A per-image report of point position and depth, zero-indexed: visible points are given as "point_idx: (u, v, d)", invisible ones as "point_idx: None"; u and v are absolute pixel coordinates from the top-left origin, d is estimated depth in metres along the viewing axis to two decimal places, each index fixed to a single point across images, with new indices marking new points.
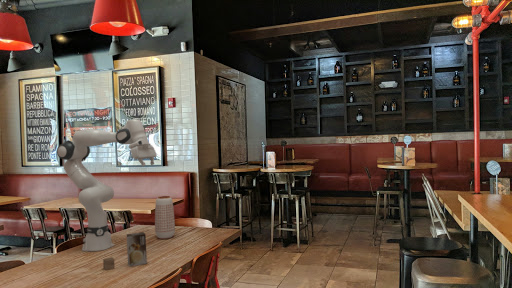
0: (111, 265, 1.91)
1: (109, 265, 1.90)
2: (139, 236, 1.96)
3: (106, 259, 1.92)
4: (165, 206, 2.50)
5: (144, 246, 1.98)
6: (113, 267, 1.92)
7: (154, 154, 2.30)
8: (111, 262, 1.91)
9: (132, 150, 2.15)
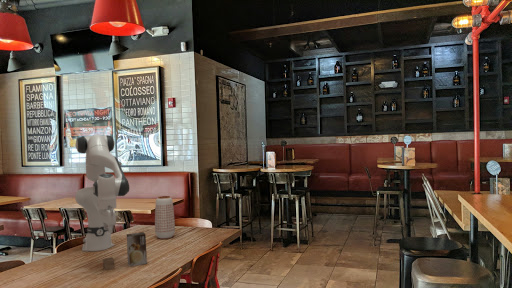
0: (111, 265, 1.91)
1: (109, 265, 1.90)
2: (139, 236, 1.96)
3: (106, 259, 1.92)
4: (165, 206, 2.50)
5: (144, 246, 1.98)
6: (113, 267, 1.92)
7: (107, 222, 1.86)
8: (110, 262, 1.91)
9: None
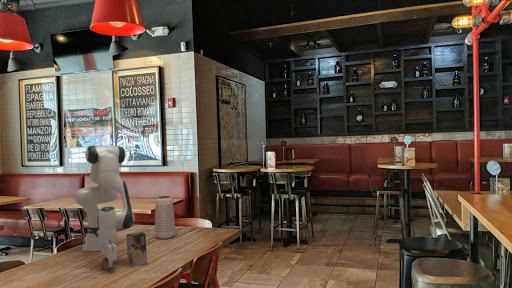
0: None
1: None
2: (139, 236, 1.96)
3: (106, 259, 1.92)
4: (165, 206, 2.50)
5: (144, 246, 1.98)
6: (113, 267, 1.91)
7: (108, 257, 1.85)
8: None
9: None
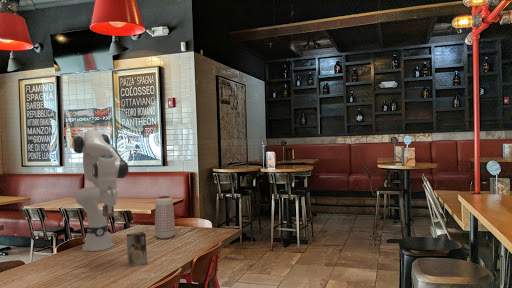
0: None
1: None
2: (139, 236, 1.96)
3: (105, 206, 1.92)
4: (165, 206, 2.50)
5: (144, 246, 1.98)
6: (112, 214, 1.92)
7: (107, 203, 1.86)
8: None
9: None
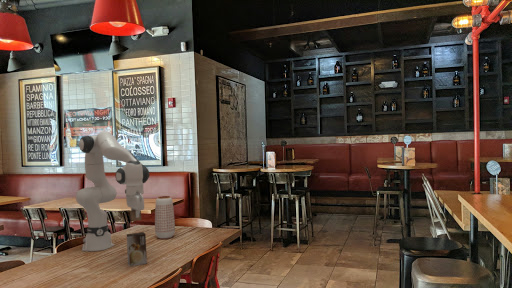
0: None
1: None
2: (139, 236, 1.96)
3: (133, 210, 1.98)
4: (165, 206, 2.50)
5: (144, 246, 1.98)
6: (140, 218, 1.98)
7: (136, 207, 1.92)
8: None
9: None
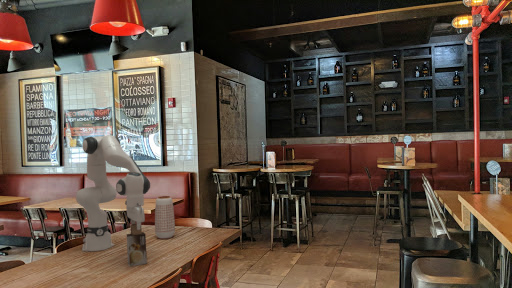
0: (138, 230, 1.97)
1: (137, 230, 1.97)
2: (139, 236, 1.96)
3: (133, 225, 1.98)
4: (165, 206, 2.50)
5: (144, 246, 1.98)
6: (140, 232, 1.98)
7: (136, 219, 1.92)
8: None
9: None
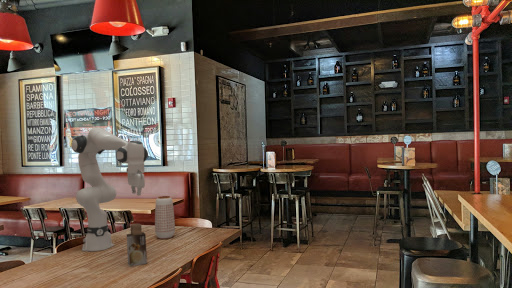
0: (138, 230, 1.97)
1: (137, 230, 1.97)
2: (139, 236, 1.96)
3: (133, 225, 1.98)
4: (165, 206, 2.50)
5: (144, 246, 1.98)
6: (140, 232, 1.98)
7: (136, 185, 1.99)
8: (138, 227, 1.97)
9: None
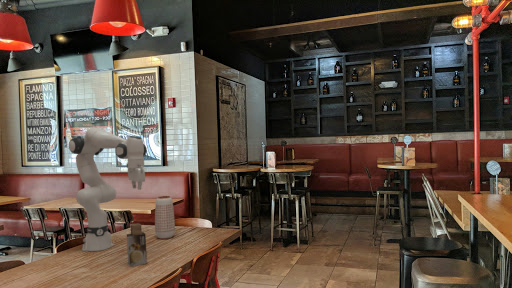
0: (138, 230, 1.97)
1: (137, 230, 1.97)
2: (139, 236, 1.96)
3: (133, 225, 1.98)
4: (165, 206, 2.50)
5: (144, 246, 1.98)
6: (140, 232, 1.98)
7: (137, 179, 2.02)
8: (138, 227, 1.97)
9: None
